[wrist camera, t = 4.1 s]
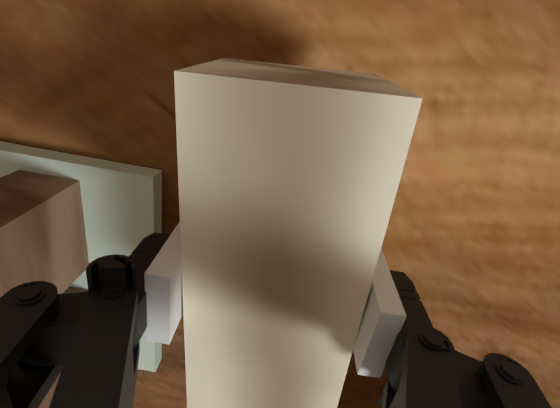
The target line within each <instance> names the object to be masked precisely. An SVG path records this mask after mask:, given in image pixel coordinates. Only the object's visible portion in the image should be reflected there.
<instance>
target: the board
mask: <svg viewBox="0 0 560 408" xmlns="http://www.w3.org/2000/svg"><path fill="white" fill-rule="evenodd" d="M17 170H23V171H28V172H34V173H40V174H45V175H51V176H56V177H62V178H67V179H73V180H79V181H80V190H81V199H82V207H83V216H84V225H85V234H86V242H87V251H88V260H89V263H91V262H92V261H94V260H95V259H97V258H100V257H103V256H106V255H114V254H118V255H125V256H128V257H129V256H130V255H131V254H132V252H133V251H134V249H135V248H137V246H138V244H139V243H140V242H141V241H142V239H143V238H145V237H147V236H148V235H150V234H152V233H154V232H156V233H162V170H158V169H153V168H147V167H142V166H136V165H130V164H125V163H119V162H114V161H108V160H102V159H97V158H91V157H86V156H80V155H74V154H69V153H63V152H58V151H52V150H46V149H41V148H35V147H29V146H24V145H18V144H13V143H7V142H1V141H0V178H1V177H3V176H6V175H8V174H10V173H13V172H15V171H17ZM70 287H75V288H81V289H86V290H88V284H87V276H86V270H85V271H84V272H83V273H82V274H81V275H80V276H79V277H78V278H77V279H76V280H75V281H74V282H73V283H72V284H71V285H70ZM161 359H162V343H157V342H151V341H146V330H145V331H144V333H143V335H142V337H141V339H140V353H139V361H138V369H140V370H146V371H151V372H156V370H157V367H158V365H159V363H160V361H161Z"/></svg>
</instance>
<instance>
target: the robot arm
mask: <svg viewBox="0 0 560 408" xmlns="http://www.w3.org/2000/svg"><path fill="white" fill-rule="evenodd" d="M86 276H87V284H88V291H87V292H80V293H67V294H58V291H57V287H56V286H55V285H54V284H53V283H50V282H46V281H32V282H28V283H23V284H21V285H18V286H16V287H14V288H12V289H10V290H9V291H8V292H6V293H5V294H4V295H3V296H2V297H1V298H0V408H38V407H39V406H40V404H41V402H42V401H43V399H44V398H45V396H46V395H47V393H48V391H49V390H50V388H51V387H52V385H53V384H54V382H55V380H56V379H57V377H58V376H59V374H60V373H61V374H60V376H59V379H58V382H57V385H56V388H55V391H54V394H53V397H52V400H51V403H50V406H49V408H133V401H134V393H135V385H136V377H137V369H138V361H139V353H140V339H141V337H142V335H143V333H144V331H145V330H146V341H151V342H157V343H163V344H170V342H171V340H172V337H173V335H174V333H175V330H176V328H177V326H178V324H179V321H180V319H181V317H182V314H183V289H182V257H181V238H180V222H179V223H178V225H177V226H176V228H175V229H174V231H173V232H172V233H171V235H168V234H162V233H156V232H154V233H152V234H150V235H148V236H147V237H145V238H143V239H142V241H141V242H140V243H139V244H138V246H137V248H135V249H134V251H133V252H132V254H131V255H130V256H129V257H128V256H125V255H118V254H114V255H106V256H103V257H100V258H97V259H95V260H94V261H92V262H91V263H89V265H88V266H87V267H86ZM353 351H354V358H355V364H356V370H357V375H363V376H369V377H375V378H380V377H381V375H382V373H383V370H384V368H385V367H386V371H387V375H388V381H387V383H386V385H385V388H384V390H383V392H382V394H381V397H380V399H379V401H378V405H380V406H381V404H382V408H551V406H550V404H549V403H548V401H547V400H546V398H545V396H544V395H543V393H542V391H541V390H540V388H539V386H538V385H537V383H536V382H535V380H534V378H533V377H532V376H531V374H530V373H529V372H528V371H527V370H526V369H525V368H524V367H523V366H522V365H520V364H519V363H518V362H516V361H515V360H513V359H511V358H509V357H507V356H504V355H501V354H496V353H490V354H488V355H486V356H485V358H484V359H483V361H482V362H481V361H479V360H476V359H474V358H471V357H469V356H466V355H464V354H462V353H460V352H458V351H455V349H454V347H453V344H452V343H451V341H450V340H449V339H448V337H447V336H445V335H444V334H443V333H441V332H440V331H439V330H437V329H435V328H433V326H432V324H431V321H430V319H429V317H428V315H427V313H426V310H425V308H424V306H423V304H422V302H421V301H420V297H419V295H418V293H417V291H416V288H415V286H414V284H413V282H412V281H411V280H410V279H409V278H408V277H407V276H406V274H405V273H404V272H398V271H392V270H389V268H388V265H387V263H386V260H385V257H384V255H383V252H382V249H381V251H380V254H379V258H378V261H377V265H376V269H375V272H374V276H373V280H372V283H371V287H370V290H369V294H368V298H367V301H366V305H365V309H364V312H363V316H362V319H361V323H360V327H359V330H358V334H357V337H356V341H355V344H354V347H353ZM382 402H383V403H382Z"/></svg>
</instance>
